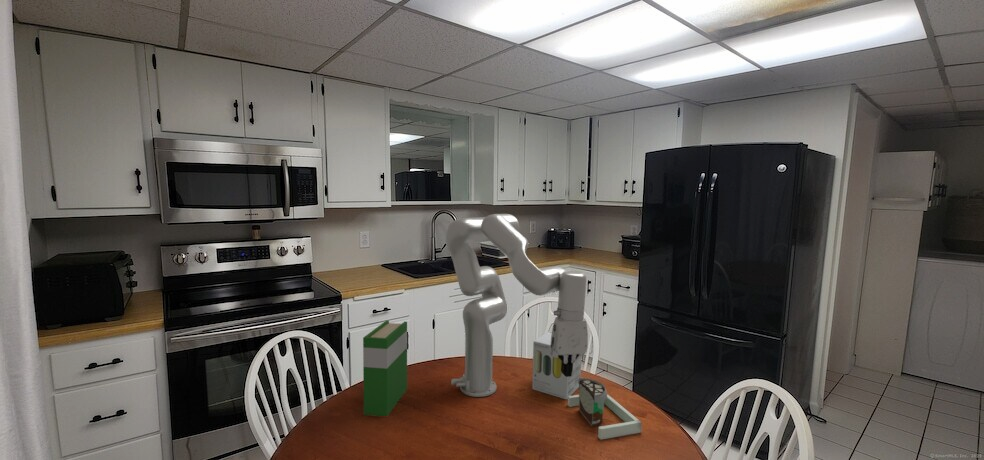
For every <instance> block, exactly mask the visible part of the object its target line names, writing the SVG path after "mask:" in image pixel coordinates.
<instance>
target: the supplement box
mask: <svg viewBox="0 0 984 460" xmlns="http://www.w3.org/2000/svg"><path fill="white" fill-rule="evenodd" d="M551 335H552V331H548V332H546V333H544V334H542V335H541V336H540V337H538V338H536V339H534V340H533V344H532V345H533V346H532V347H533V349H532V350H533V351H532V353H533V354H532V390H534V391H538V392H539V393H544V394H546V395H550V396H553V397H557V398H560V399H564V400H568V396H573V394H574V393H575V392H576V391H577V390H579V384H578V381H579V378H582V355H581V356H578V358H577V359H576V360H575V363H573V371H572V375H571V376H570V377H569V376H568V377H566V376H565V375H564V374H563V373H562V372H561V360H560V359H559V358H556V357H552V356H551V355H550V353H551V350H552V349H551ZM567 356H568V355H567Z"/></svg>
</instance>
